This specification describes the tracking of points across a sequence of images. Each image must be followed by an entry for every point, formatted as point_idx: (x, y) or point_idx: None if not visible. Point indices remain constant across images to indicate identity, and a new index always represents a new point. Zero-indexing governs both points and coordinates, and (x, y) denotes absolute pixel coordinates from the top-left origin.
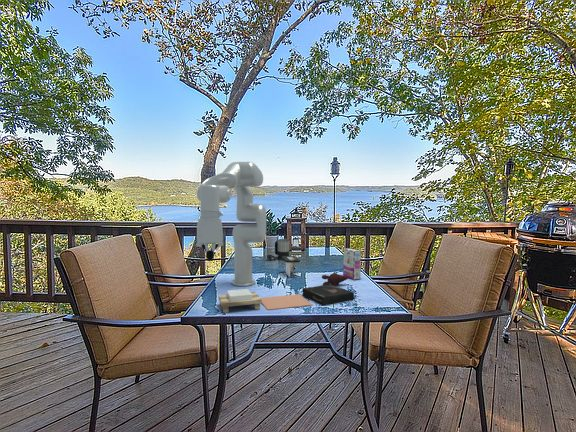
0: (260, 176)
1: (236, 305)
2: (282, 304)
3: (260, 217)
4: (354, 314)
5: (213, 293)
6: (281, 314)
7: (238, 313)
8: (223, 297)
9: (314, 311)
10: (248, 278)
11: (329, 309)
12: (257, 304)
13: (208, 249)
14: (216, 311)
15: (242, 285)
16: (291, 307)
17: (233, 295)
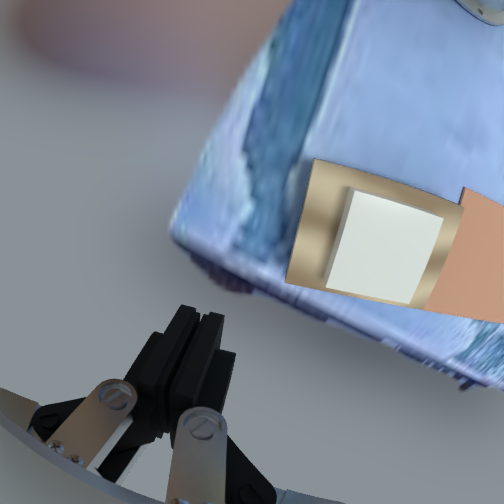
0: None
1: None
2: (472, 292)
3: None
4: (493, 386)
5: (335, 8)
6: (419, 347)
7: None
8: (320, 211)
9: (476, 355)
10: (499, 8)
11: (498, 355)
12: None
13: (140, 449)
14: (274, 235)
15: (467, 9)
16: (470, 317)
17: (343, 280)
